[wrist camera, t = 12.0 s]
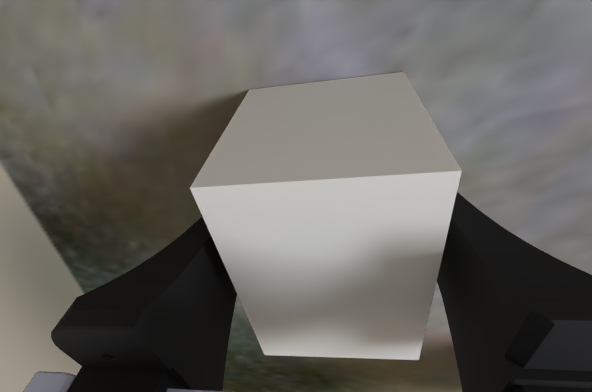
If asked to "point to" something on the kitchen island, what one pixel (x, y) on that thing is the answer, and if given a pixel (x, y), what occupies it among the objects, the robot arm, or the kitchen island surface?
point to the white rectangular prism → (332, 215)
